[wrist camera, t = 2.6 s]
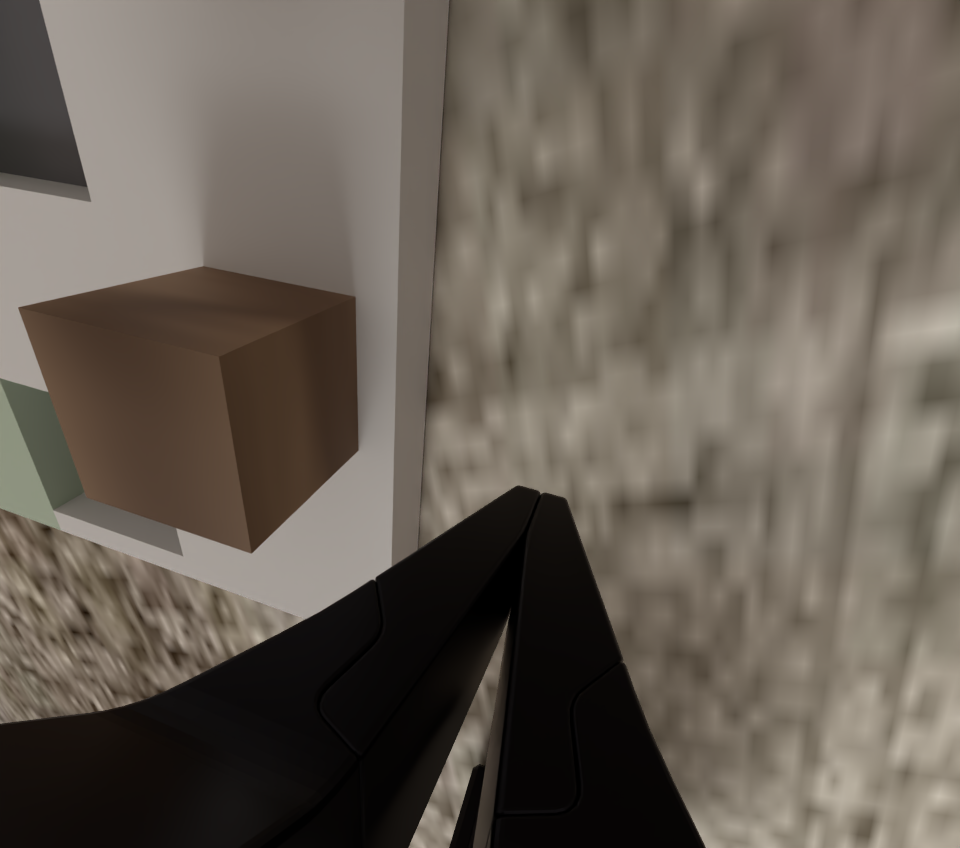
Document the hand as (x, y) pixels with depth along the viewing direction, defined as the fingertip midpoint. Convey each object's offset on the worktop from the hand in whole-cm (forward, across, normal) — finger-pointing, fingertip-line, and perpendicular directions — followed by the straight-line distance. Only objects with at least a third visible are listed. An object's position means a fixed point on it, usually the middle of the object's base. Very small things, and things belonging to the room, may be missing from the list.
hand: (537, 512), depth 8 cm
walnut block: (+3, +7, 0) cm, 8 cm away
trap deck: (+5, +14, 0) cm, 15 cm away
